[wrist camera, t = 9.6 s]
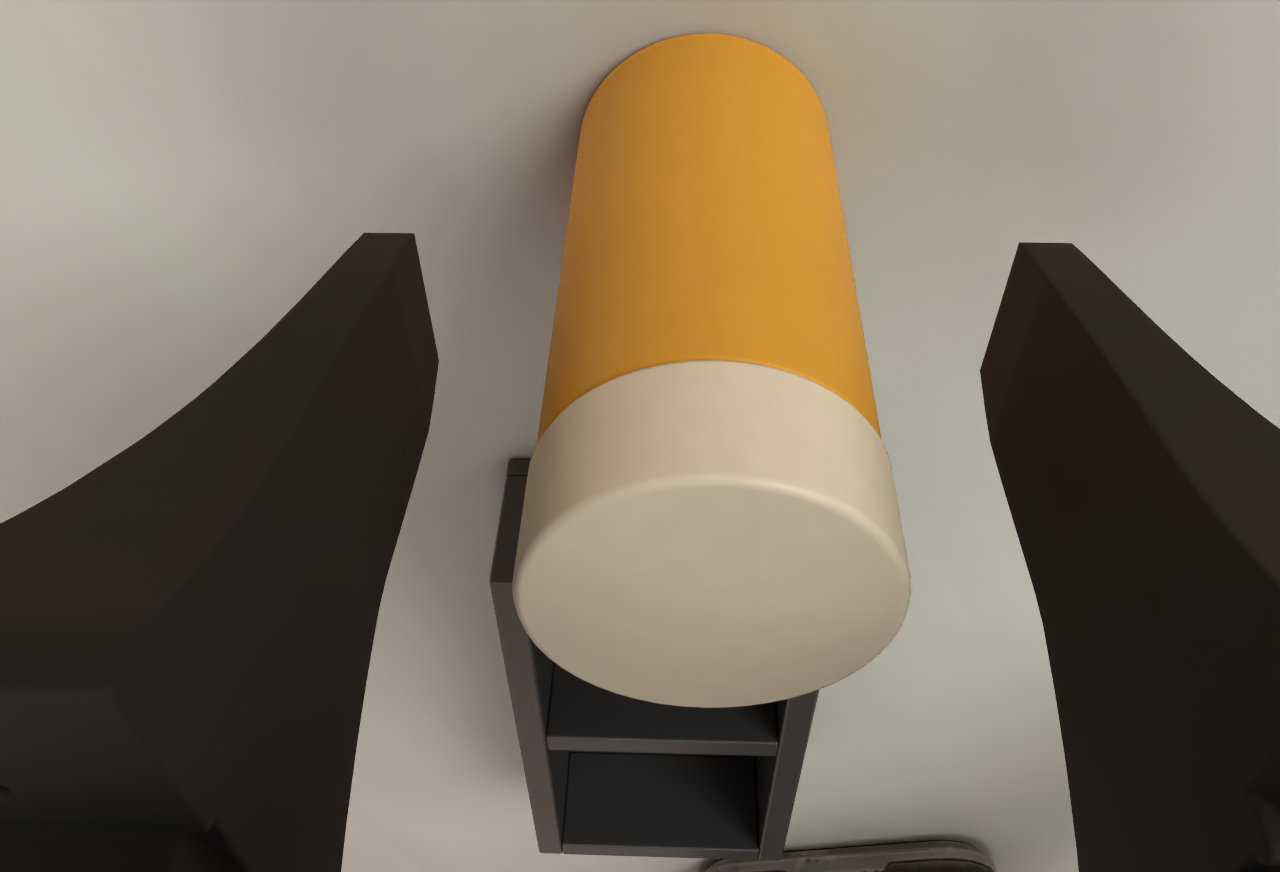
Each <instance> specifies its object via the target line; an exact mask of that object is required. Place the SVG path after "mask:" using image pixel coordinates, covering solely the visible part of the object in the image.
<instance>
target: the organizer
mask: <svg viewBox="0 0 1280 872" xmlns="http://www.w3.org/2000/svg"><path fill="white" fill-rule="evenodd" d="M529 465H530V460H509V462H508V468H507V478H506V482H505V488H504V494H503V500H502V506H501V513H500V519H499V525H498V531H497V537H496V544H495V550H494V556H493V562H492V568H491V575H490V587H491V592H492V598H493V603H494V608H495V614H496V619H497V625H498V630H499V635H500V641H501V646H502V652H503V657H504V663H505V668H506V673H507V679H508V684H509V690H510V695H511V700H512V706H513V711H514V717H515V722H516V727H517V733H518V738H519V744H520V749H521V755H522V760H523V765H524V771H525V776H526V782H527V787H528V792H529V798H530V803H531V809H532V814H533V819H534V825H535V830H536V836H537V841H538V847H539V851H540V852H541V853H559V854H560V853H562V851H563V853H564V854H584V855H616V856H648V857H680V858H712V859H744V860H757V858H759V859H760V860H781V858H782V854H783V850H784V845H785V841H786V836H787V832H788V828H789V823H790V819H791V814H792V810H793V805H794V801H795V796H796V792H797V787H798V783H799V778H800V774H801V769H802V765H803V760H804V756H805V751H806V747H807V742H808V738H809V733H810V729H811V724H812V720H813V715H814V711H815V706H816V702H817V697H818V693H819V689H818V690H816V691H813V692H810V693H807V694H804V695H800V696H797V697H793V698H789V699H785V700H780V701H775V702H771V703H764V704H757V705H750V706H739V707H722V708H701V707H684V706H674V705H666V704H659V703H653V702H648V701H643V700H638V699H634V698H631V697H627V696H624V695H620V694H616V693H614V692H611V691H608V690H605V689H603V688H600V687H597V686H595V685H593V684H591V683H589V682H586V681H584V680H582V679H580V678H578V677H576V676H575V675H573V674H571V673H570V672H568V671H566V670H565V669H563V668H561V667H560V666H559V665H557V664H556V663H555V662H553V661H552V660H551V659H550V658H548V657H547V656H546V655H545V654H544V653H543V652H542V651H541V650H540V649H539V648H538V647H537V646H536V645H535V644H534V642H533V641H532V640H531V638H530V637H529V636H528V634H527V633H526V631H525V629H524V627H523V625H522V623H521V621H520V619H519V617H518V614H517V611H516V607H515V604H514V600H513V588H512V581H513V574H514V567H515V560H516V553H517V546H518V539H519V532H520V525H521V518H522V511H523V504H524V497H525V490H526V483H527V476H528V471H529Z"/></svg>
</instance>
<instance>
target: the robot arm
mask: <svg viewBox="0 0 1280 872" xmlns="http://www.w3.org/2000/svg"><path fill="white" fill-rule="evenodd" d="M438 363H439V359H438V354H437V349H436V344H435V339H434V333H433V328H432V323H431V318H430V313H429V308H428V302H427V297H426V292H425V287H424V282H423V277H422V271H421V266H420V261H419V256H418V251H417V246H416V241H415V235H414V234H411V233H364V234H363V235H362V236H361V237H360V238H359V239H358V240H357V241H356V242H355V243H354V244H353V245H352V246H351V247H350V248H349V249H348V250H347V251H346V252H345V253H344V254H343V255H342V256H341V257H340V258H339V259H338V260H337V261H336V263H335V264H334V265H333V266H332V267H331V268H330V269H329V270H328V271H327V272H326V273H325V274H324V275H323V276H322V278H321V279H320V280H319V281H318V282H317V283H316V284H315V285H314V286H313V287H312V288H311V289H310V290H309V291H308V292H307V294H306V295H305V296H304V297H303V298H302V299H301V300H300V301H299V302H298V303H297V304H296V305H295V306H294V307H293V308H292V309H291V310H290V311H289V312H288V313H287V314H286V315H285V316H284V317H283V318H282V319H281V320H280V321H279V322H278V323H277V324H276V325H275V326H274V327H273V328H272V329H271V330H270V331H269V332H268V333H267V334H266V335H265V336H264V337H263V338H262V339H261V340H260V341H259V342H258V343H257V344H256V345H255V346H254V347H253V348H252V349H251V350H250V351H248V352H247V353H246V354H245V355H244V356H243V357H242V358H241V359H240V360H239V361H237V362H236V363H235V364H234V365H233V366H232V367H231V368H230V369H229V370H228V371H227V372H225V373H224V374H223V375H222V376H221V377H220V378H219V379H218V380H217V381H216V382H214V383H213V384H212V385H211V386H210V387H208V388H207V389H206V390H205V391H204V392H203V393H201V394H200V395H199V396H198V397H196V398H195V399H194V400H193V401H191V402H190V403H189V404H188V405H186V406H185V407H184V408H183V409H181V410H180V411H179V412H177V413H176V414H175V415H173V416H172V417H171V418H169V419H168V420H167V421H165V422H164V423H163V424H161V425H160V426H159V427H157V428H156V429H155V430H153V431H152V432H151V433H149V434H148V435H146V436H145V437H144V438H142V439H141V440H139V441H138V442H136V443H135V444H133V445H132V446H130V447H129V448H127V449H126V450H124V451H123V452H121V453H119V454H118V455H116V456H115V457H113V458H112V459H110V460H109V461H107V462H105V463H104V464H102V465H101V466H99V467H98V468H96V469H95V470H93V471H91V472H90V473H88V474H87V475H85V476H84V477H82V478H81V479H79V480H77V481H76V482H74V483H73V484H71V485H70V486H68V487H66V488H64V489H63V490H61V491H59V492H58V493H56V494H54V495H52V496H51V497H49V498H47V499H45V500H43V501H42V502H40V503H38V504H36V505H35V506H33V507H31V508H29V509H28V510H26V511H24V512H22V513H20V514H18V515H16V516H14V517H13V518H11V519H9V520H7V521H5V522H3V523H1V524H0V872H341V866H342V857H343V848H344V839H345V830H346V822H347V814H348V807H349V799H350V791H351V784H352V776H353V769H354V761H355V754H356V746H357V740H358V733H359V726H360V720H361V713H362V707H363V700H364V694H365V687H366V681H367V674H368V669H369V663H370V657H371V651H372V646H373V640H374V634H375V628H376V622H377V617H378V611H379V606H380V602H381V598H382V594H383V589H384V585H385V581H386V577H387V573H388V570H389V567H390V563H391V560H392V556H393V553H394V549H395V546H396V543H397V539H398V536H399V532H400V529H401V526H402V522H403V519H404V515H405V512H406V508H407V505H408V502H409V498H410V495H411V491H412V488H413V484H414V481H415V477H416V474H417V470H418V467H419V463H420V460H421V456H422V453H423V449H424V446H425V442H426V438H427V435H428V431H429V425H430V419H431V413H432V406H433V400H434V393H435V385H436V378H437V370H438ZM980 374H981V381H982V389H983V397H984V404H985V412H986V418H987V424H988V430H989V437H990V442H991V446H992V450H993V453H994V457H995V460H996V464H997V467H998V471H999V474H1000V477H1001V481H1002V484H1003V488H1004V491H1005V494H1006V498H1007V501H1008V504H1009V508H1010V511H1011V514H1012V518H1013V521H1014V524H1015V528H1016V531H1017V534H1018V537H1019V541H1020V544H1021V547H1022V551H1023V554H1024V557H1025V561H1026V564H1027V567H1028V571H1029V574H1030V577H1031V581H1032V584H1033V587H1034V590H1035V594H1036V598H1037V602H1038V606H1039V610H1040V614H1041V618H1042V622H1043V627H1044V632H1045V638H1046V644H1047V649H1048V655H1049V660H1050V666H1051V672H1052V677H1053V683H1054V689H1055V694H1056V701H1057V707H1058V714H1059V720H1060V727H1061V734H1062V740H1063V747H1064V753H1065V760H1066V766H1067V774H1068V782H1069V790H1070V798H1071V806H1072V814H1073V822H1074V830H1075V838H1076V846H1077V856H1078V866H1079V872H1280V429H1279V428H1278V427H1276V426H1275V425H1274V424H1272V423H1271V422H1270V421H1268V420H1267V419H1266V418H1264V417H1263V416H1262V415H1260V414H1259V413H1258V412H1257V411H1255V410H1254V409H1253V408H1252V407H1250V406H1249V405H1248V404H1247V403H1245V402H1244V401H1243V400H1242V399H1241V398H1239V397H1238V396H1237V395H1236V394H1235V393H1233V392H1232V391H1231V390H1230V389H1228V388H1227V387H1226V386H1225V385H1224V384H1222V383H1221V382H1220V381H1219V380H1217V379H1216V378H1215V377H1214V376H1213V375H1212V374H1210V373H1209V372H1208V371H1207V370H1206V369H1205V368H1204V367H1202V366H1201V365H1200V364H1199V363H1198V362H1197V361H1196V360H1194V359H1193V358H1192V357H1191V356H1190V355H1189V354H1188V353H1187V352H1186V351H1184V350H1183V349H1182V348H1181V347H1180V346H1179V345H1178V344H1177V343H1176V342H1175V341H1174V340H1172V339H1171V338H1170V337H1169V336H1168V335H1167V334H1166V333H1165V332H1164V331H1163V330H1162V329H1161V328H1160V327H1159V326H1158V325H1156V324H1155V323H1154V322H1153V321H1152V320H1151V319H1150V318H1149V317H1148V316H1147V315H1146V314H1145V313H1144V312H1143V311H1142V310H1141V309H1140V308H1139V307H1138V306H1137V305H1136V304H1135V303H1134V302H1133V301H1132V300H1131V299H1130V298H1129V297H1127V296H1126V295H1125V294H1124V293H1123V292H1122V291H1121V290H1120V289H1119V288H1118V287H1117V286H1116V285H1115V284H1114V283H1113V282H1112V281H1111V280H1110V279H1109V278H1108V277H1107V276H1106V275H1105V274H1104V273H1103V272H1102V271H1101V270H1100V269H1099V268H1098V267H1097V266H1096V265H1095V264H1094V263H1093V262H1092V261H1091V260H1089V259H1088V258H1087V257H1086V256H1085V255H1084V254H1083V253H1082V252H1081V251H1080V250H1079V249H1077V248H1076V247H1075V246H1074V245H1073V244H1072V243H1019V245H1018V248H1017V252H1016V255H1015V258H1014V262H1013V265H1012V268H1011V271H1010V275H1009V278H1008V281H1007V284H1006V288H1005V291H1004V294H1003V297H1002V301H1001V304H1000V307H999V311H998V314H997V317H996V320H995V324H994V327H993V330H992V333H991V337H990V340H989V343H988V347H987V350H986V353H985V356H984V360H983V363H982V366H981V369H980Z"/></svg>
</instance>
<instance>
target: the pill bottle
mask: <svg viewBox="0 0 1280 872" xmlns="http://www.w3.org/2000/svg"><path fill="white" fill-rule="evenodd" d="M512 588H513V600H514V604H515V607H516V611H517V614H518V617H519V619H520V621H521V623H522V625H523V627H524V629H525V631H526V633H527V634H528V636H529V637H530V638H531V640H532V641H533V642H534V644H535V645H536V646H537V647H538V648H539V649H540V650H541V651H542V652H543V653H544V654H545V655H546V656H547V657H548V658H550V659H551V660H552V661H553V662H555V663H556V664H557V665H559V666H560V667H561V668H563V669H565V670H566V671H568V672H570V673H571V674H573V675H575V676H576V677H578V678H580V679H582V680H584V681H586V682H589V683H591V684H593V685H595V686H597V687H600V688H603V689H605V690H608V691H611V692H614V693H616V694H620V695H624V696H627V697H631V698H634V699H638V700H643V701H648V702H653V703H659V704H666V705H674V706H684V707H701V708H722V707H739V706H750V705H757V704H764V703H771V702H775V701H780V700H785V699H789V698H793V697H797V696H800V695H804V694H807V693H810V692H813V691H816V690H818V689H821V688H824V687H826V686H829V685H831V684H833V683H835V682H837V681H839V680H841V679H843V678H845V677H847V676H849V675H851V674H853V673H854V672H856V671H857V670H859V669H860V668H862V667H864V666H865V665H866V664H868V663H869V662H870V661H871V660H873V659H874V658H875V657H876V656H878V655H879V654H880V653H881V652H882V651H883V650H884V649H885V647H886V646H887V645H888V644H889V643H890V642H891V641H892V639H893V638H894V636H895V635H896V633H897V632H898V630H899V629H900V627H901V625H902V622H903V620H904V618H905V615H906V613H907V610H908V606H909V601H910V596H911V577H910V571H909V565H908V560H907V554H906V548H905V542H904V537H903V531H902V525H901V519H900V514H899V508H898V502H897V497H896V491H895V485H894V479H893V474H892V468H891V464H890V461H889V457H888V453H887V451H886V449H885V447H884V445H883V443H882V440H881V434H880V428H879V422H878V417H877V411H876V405H875V399H874V393H873V387H872V381H871V375H870V369H869V364H868V358H867V352H866V346H865V340H864V334H863V328H862V322H861V316H860V311H859V305H858V299H857V293H856V287H855V281H854V275H853V269H852V263H851V258H850V252H849V246H848V240H847V234H846V228H845V222H844V216H843V210H842V205H841V199H840V193H839V187H838V181H837V175H836V169H835V163H834V157H833V152H832V146H831V140H830V134H829V128H828V123H827V119H826V115H825V111H824V109H823V106H822V104H821V101H820V99H819V97H818V95H817V93H816V92H815V90H814V88H813V87H812V85H811V84H810V82H809V81H808V80H807V79H806V77H805V76H804V75H803V74H802V73H801V71H799V70H798V69H797V68H796V67H795V66H794V65H793V64H792V63H791V62H790V61H788V60H787V59H785V58H784V57H783V56H781V55H780V54H778V53H777V52H775V51H773V50H771V49H769V48H767V47H765V46H763V45H761V44H759V43H756V42H753V41H751V40H748V39H745V38H741V37H736V36H731V35H726V34H714V33H701V34H688V35H683V36H677V37H673V38H669V39H666V40H663V41H660V42H657V43H655V44H653V45H650V46H648V47H646V48H644V49H642V50H640V51H638V52H637V53H635V54H634V55H632V56H630V57H629V58H627V59H626V60H625V61H623V62H622V63H621V64H620V65H619V66H617V67H616V68H615V69H614V70H613V71H612V72H611V73H610V74H609V75H608V76H607V77H606V78H605V80H604V81H603V82H602V83H601V85H600V86H599V88H598V89H597V90H596V92H595V93H594V95H593V97H592V99H591V101H590V103H589V105H588V107H587V109H586V112H585V115H584V118H583V121H582V126H581V132H580V138H579V145H578V152H577V159H576V167H575V174H574V181H573V188H572V195H571V203H570V210H569V217H568V224H567V231H566V239H565V246H564V253H563V260H562V267H561V275H560V282H559V289H558V296H557V303H556V311H555V318H554V325H553V332H552V339H551V347H550V354H549V361H548V368H547V375H546V383H545V390H544V397H543V404H542V411H541V419H540V426H539V433H538V440H537V445H536V447H535V450H534V453H533V455H532V458H531V460H530V465H529V471H528V476H527V483H526V490H525V497H524V504H523V511H522V518H521V525H520V532H519V539H518V546H517V553H516V560H515V567H514V574H513V581H512Z"/></svg>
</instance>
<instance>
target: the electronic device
mask: <svg viewBox="0 0 1280 872" xmlns="http://www.w3.org/2000/svg"><path fill="white" fill-rule="evenodd" d="M705 872H996V869H995V866H994V864H993V861H992V860H991V859H990V858H988V857H987V856H986V855H985V854H983V853H981V852H980V851H978V850H977V849H975V848H974V847H972V846H971V845H968V844H964V843H960V842H953V841H928V842H915V843H902V844H889V845H875V846H862V847H849V848H836V849H823V850H810V851H797V852H784V853H783V854H782V858H781V860H760V859H759V858H757V860H744V859H723V860H720V861H718V862H716V863H714V864H713V865H711V866H710V867H709V868H708V869H707V870H706V871H705Z"/></svg>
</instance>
